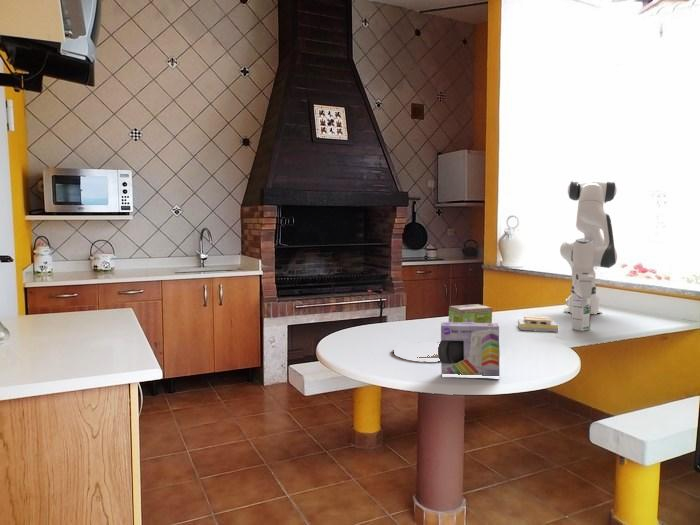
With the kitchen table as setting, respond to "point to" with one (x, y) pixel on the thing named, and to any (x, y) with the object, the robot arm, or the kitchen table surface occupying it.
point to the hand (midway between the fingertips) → (581, 305)
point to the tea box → (470, 313)
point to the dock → (538, 326)
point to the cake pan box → (469, 348)
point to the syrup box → (581, 314)
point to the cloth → (537, 319)
